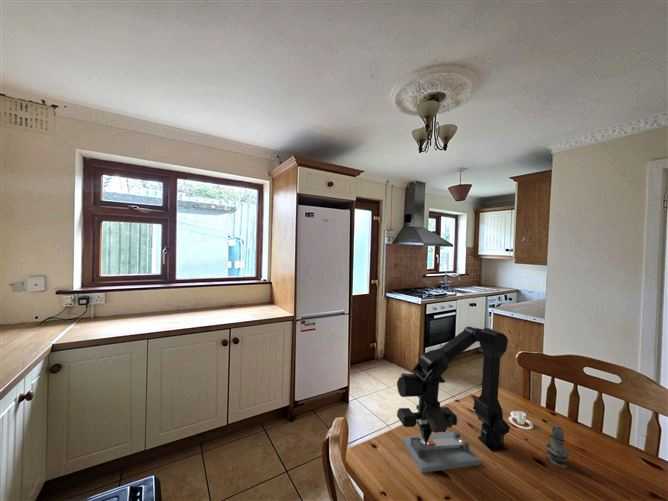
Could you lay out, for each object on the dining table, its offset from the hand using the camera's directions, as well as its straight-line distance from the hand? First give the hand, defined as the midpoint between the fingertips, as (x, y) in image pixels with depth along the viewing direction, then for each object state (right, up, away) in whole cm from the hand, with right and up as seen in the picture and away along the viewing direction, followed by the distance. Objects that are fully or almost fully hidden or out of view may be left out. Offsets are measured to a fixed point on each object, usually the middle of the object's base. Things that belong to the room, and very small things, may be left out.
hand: (425, 442), depth 87 cm
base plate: (+5, -4, +1) cm, 7 cm away
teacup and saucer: (+47, -6, +19) cm, 51 cm away
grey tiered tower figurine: (+42, -5, -1) cm, 43 cm away
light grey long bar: (+6, -2, +1) cm, 7 cm away
